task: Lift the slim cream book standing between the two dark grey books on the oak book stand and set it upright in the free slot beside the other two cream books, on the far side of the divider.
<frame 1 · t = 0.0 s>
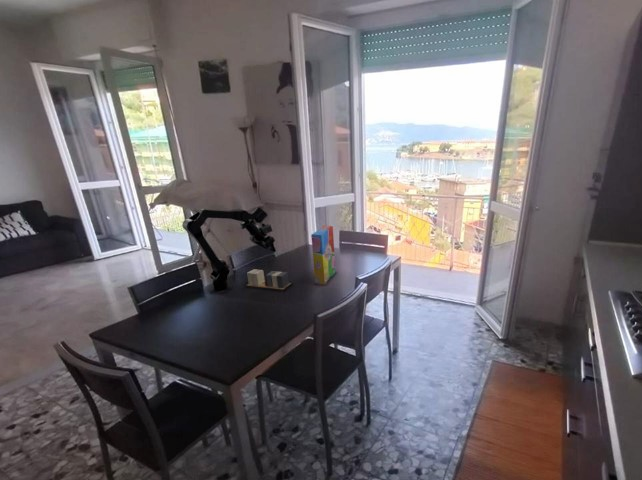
hand: (271, 250, 198), 15 cm above the table, tool tilted 35°, fingers open, 9 cm apart
game box: (325, 278, 198), on the table
book stand: (269, 285, 189), on the table
cream book c: (254, 282, 191), point 1 cm above the table, touching book stand
grey book b: (272, 284, 188), point 1 cm above the table, touching book stand
grey book a: (283, 285, 186), point 1 cm above the table, touching book stand
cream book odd: (278, 285, 187), point 1 cm above the table, touching book stand
cream book b: (259, 283, 190), point 1 cm above the table, touching book stand
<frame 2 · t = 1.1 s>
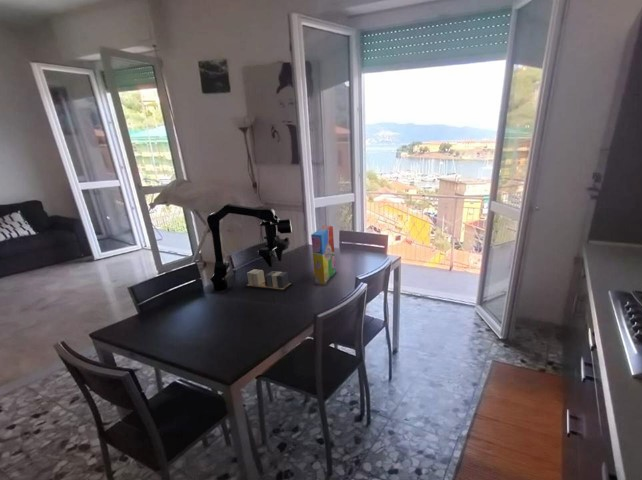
hand: (275, 263, 182), 13 cm above the table, tool pointing down, fingers open, 9 cm apart
nothing on the table moved.
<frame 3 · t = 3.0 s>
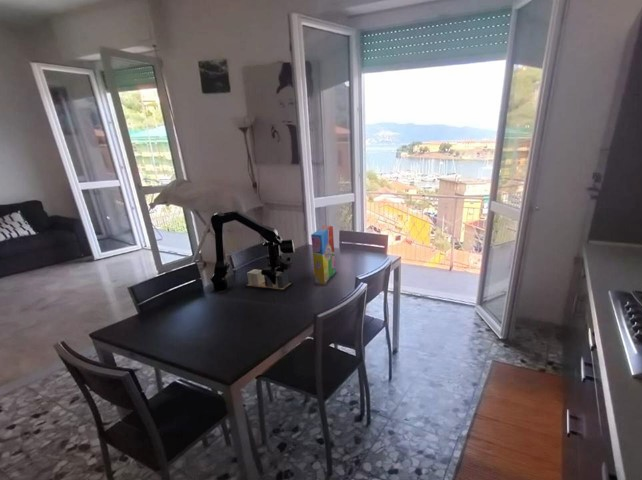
hand: (277, 282, 186), 3 cm above the table, tool pointing down, fingers closed on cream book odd, 6 cm apart
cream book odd: (278, 285, 187), point 1 cm above the table, touching book stand, gripper
everything else where it was.
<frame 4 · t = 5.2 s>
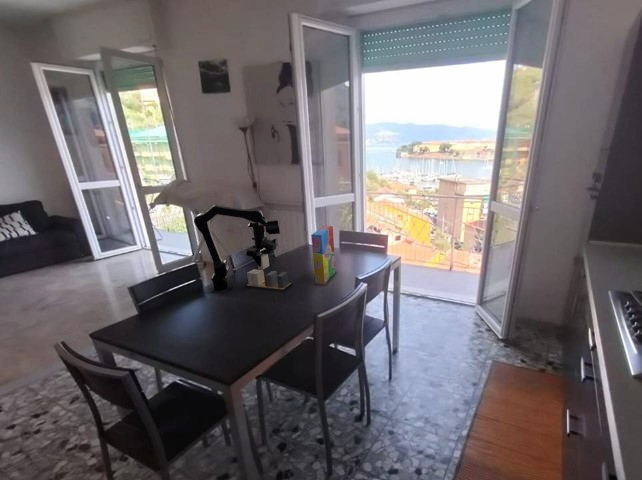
hand: (263, 264, 184), 12 cm above the table, tool pointing down, fingers closed on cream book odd, 6 cm apart
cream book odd: (263, 267, 185), point 10 cm above the table, touching gripper
everything else where it was.
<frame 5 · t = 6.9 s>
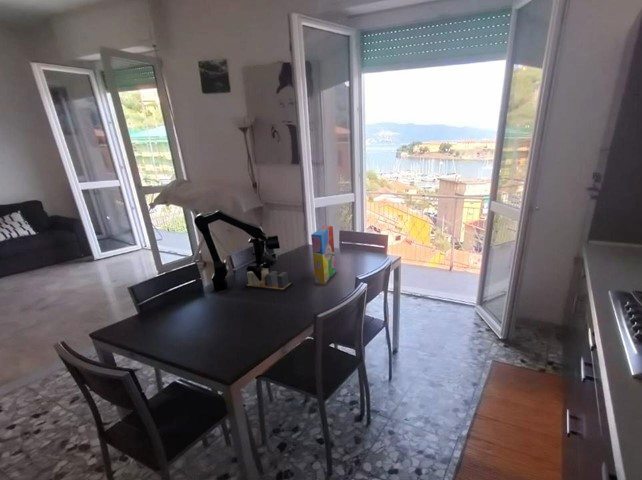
hand: (263, 278, 188), 4 cm above the table, tool pointing down, fingers closed on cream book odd, 6 cm apart
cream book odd: (264, 281, 189), point 2 cm above the table, touching gripper
everything else where it was.
when the fingers open (3 cm above the table, at t = 7.8 s): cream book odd stays where it is, resting on book stand.
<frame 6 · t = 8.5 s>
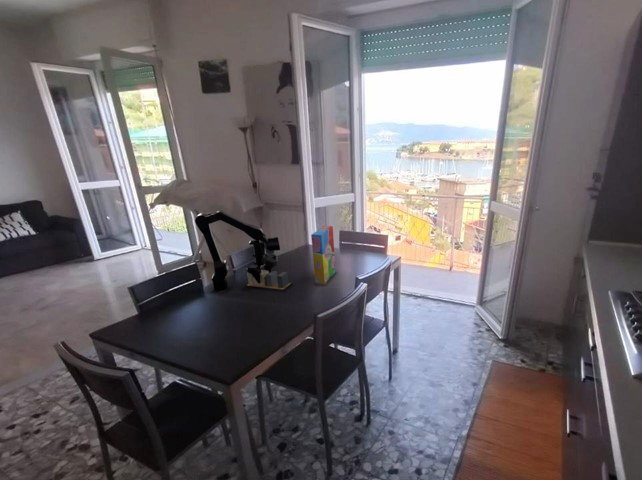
hand: (264, 280, 188), 3 cm above the table, tool pointing down, fingers open, 9 cm apart
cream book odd: (264, 283, 189), point 1 cm above the table, touching book stand
everything else where it was.
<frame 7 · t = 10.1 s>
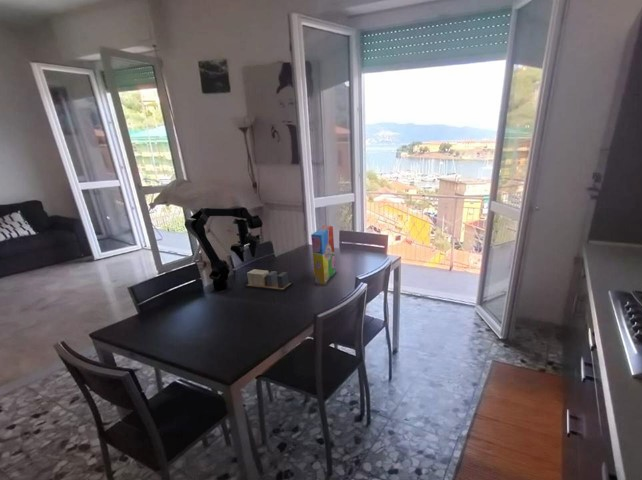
hand: (248, 259, 193), 12 cm above the table, tool pointing down, fingers open, 9 cm apart
nothing on the table moved.
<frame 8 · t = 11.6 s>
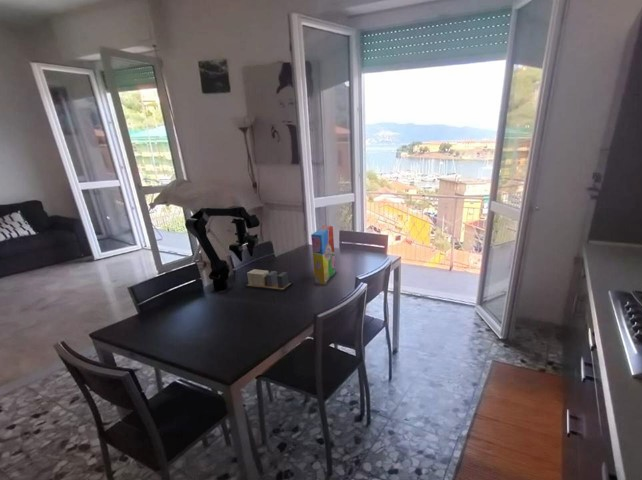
hand: (246, 258, 194), 12 cm above the table, tool pointing down, fingers open, 9 cm apart
nothing on the table moved.
at the end: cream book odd 0.1 cm from the target spot, point 1.0 cm above the table; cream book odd tilted 0°; grey book b moved 0.0 cm from its start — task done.
